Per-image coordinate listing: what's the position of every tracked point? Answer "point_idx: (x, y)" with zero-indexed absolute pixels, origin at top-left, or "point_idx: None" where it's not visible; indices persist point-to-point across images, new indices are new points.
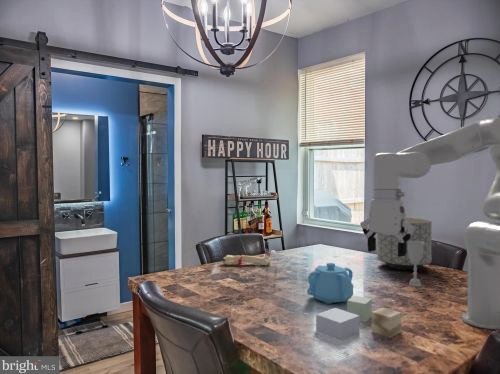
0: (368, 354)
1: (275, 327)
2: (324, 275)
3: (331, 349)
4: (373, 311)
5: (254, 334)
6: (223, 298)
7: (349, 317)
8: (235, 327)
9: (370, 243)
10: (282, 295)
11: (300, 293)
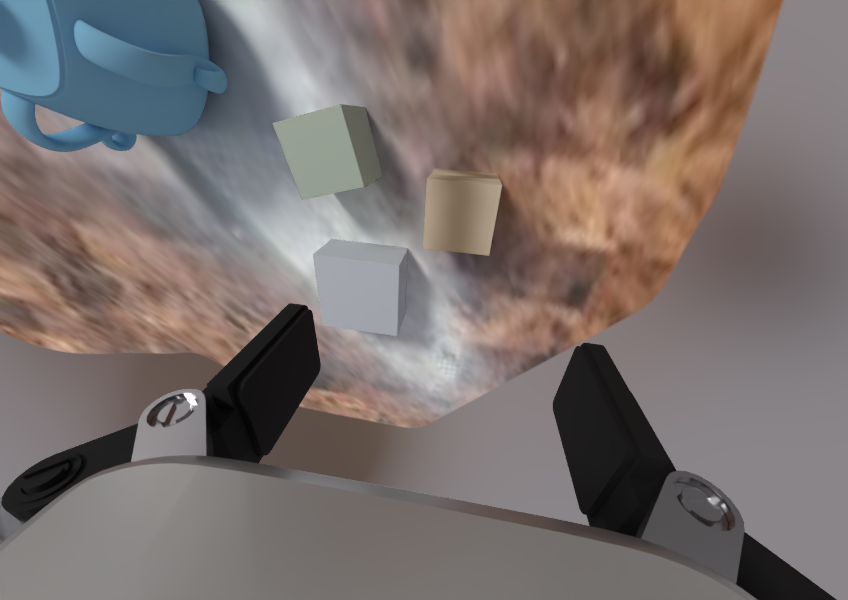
0: (484, 337)
1: None
2: (69, 110)
3: (420, 357)
4: (425, 241)
5: None
6: (65, 285)
7: (389, 294)
8: None
9: (288, 417)
10: None
11: None
